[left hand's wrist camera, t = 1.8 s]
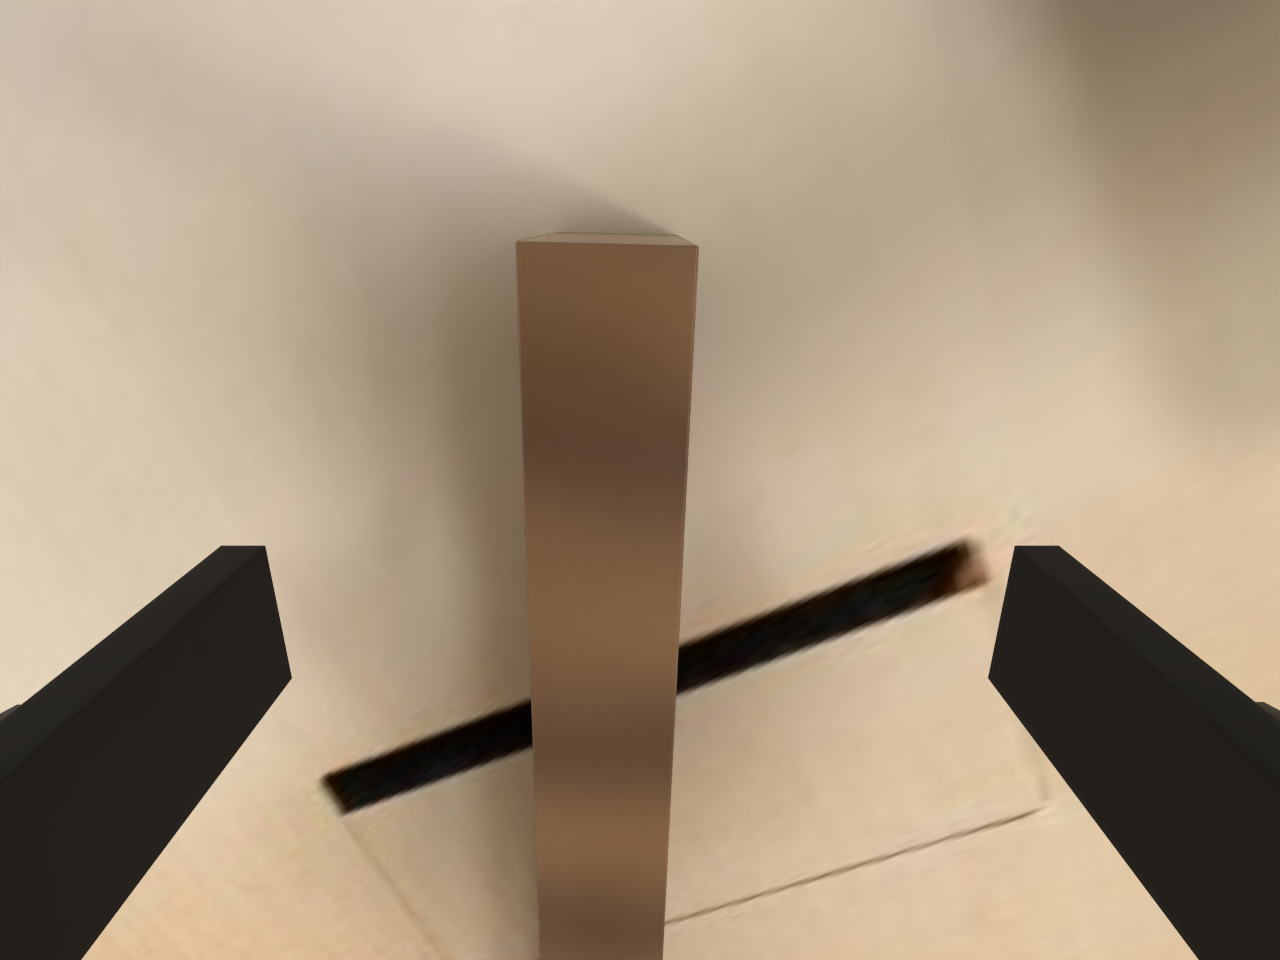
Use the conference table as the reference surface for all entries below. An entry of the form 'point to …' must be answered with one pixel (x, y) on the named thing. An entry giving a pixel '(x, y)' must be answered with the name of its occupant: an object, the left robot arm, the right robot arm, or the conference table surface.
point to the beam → (604, 573)
